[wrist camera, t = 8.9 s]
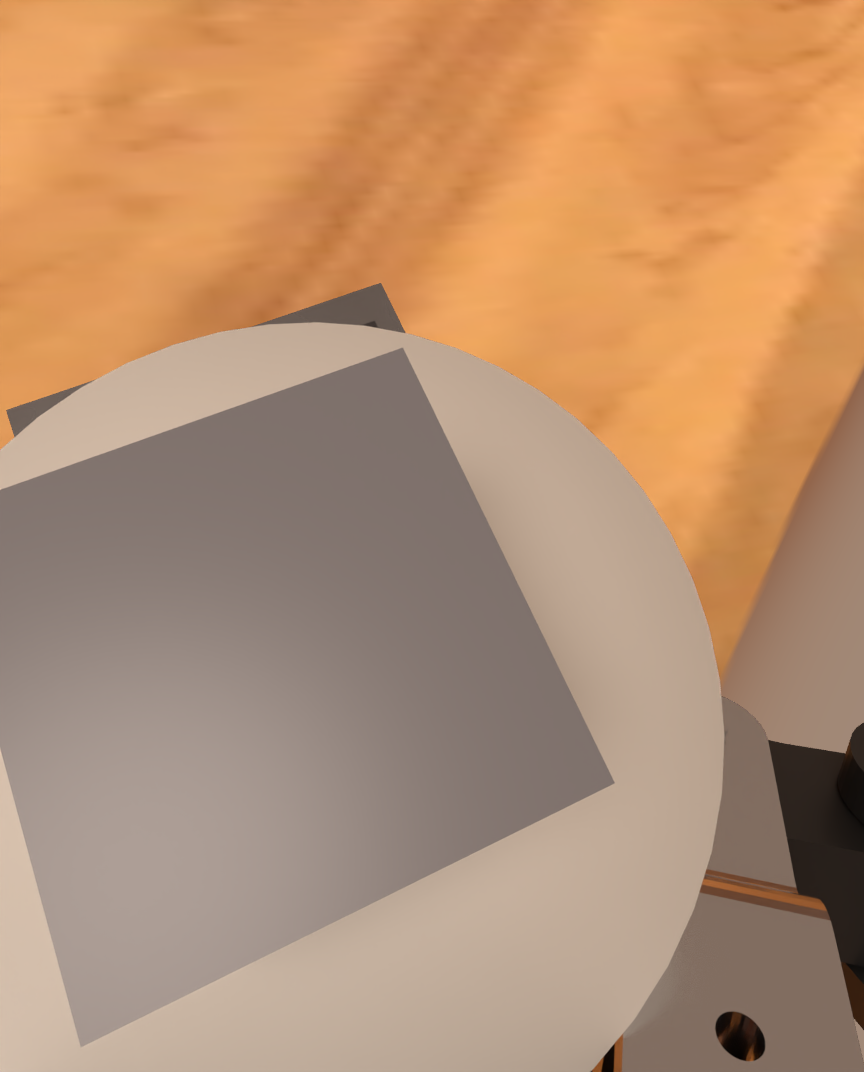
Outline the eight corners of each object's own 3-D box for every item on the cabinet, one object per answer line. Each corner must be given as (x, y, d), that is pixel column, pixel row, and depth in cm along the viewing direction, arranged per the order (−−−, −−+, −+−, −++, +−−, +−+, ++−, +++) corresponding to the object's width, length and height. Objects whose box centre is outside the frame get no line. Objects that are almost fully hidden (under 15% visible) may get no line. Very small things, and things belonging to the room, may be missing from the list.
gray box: (46, 513, 24) (-102, 402, 16) (381, 390, 26) (380, 242, 18) (190, 960, 20) (81, 1068, 13) (563, 776, 22) (650, 782, 15)
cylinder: (200, 682, 15) (-527, 326, 3) (425, 589, 16) (550, 24, 4) (288, 932, 14) (-371, 2027, 2) (527, 815, 15) (1176, 1006, 3)
